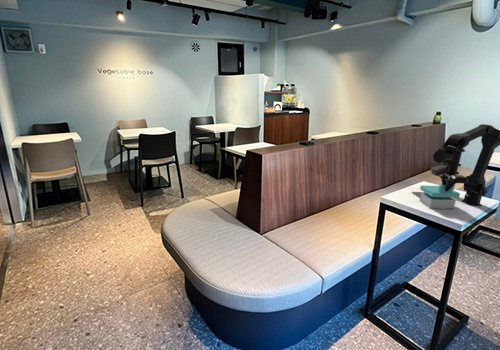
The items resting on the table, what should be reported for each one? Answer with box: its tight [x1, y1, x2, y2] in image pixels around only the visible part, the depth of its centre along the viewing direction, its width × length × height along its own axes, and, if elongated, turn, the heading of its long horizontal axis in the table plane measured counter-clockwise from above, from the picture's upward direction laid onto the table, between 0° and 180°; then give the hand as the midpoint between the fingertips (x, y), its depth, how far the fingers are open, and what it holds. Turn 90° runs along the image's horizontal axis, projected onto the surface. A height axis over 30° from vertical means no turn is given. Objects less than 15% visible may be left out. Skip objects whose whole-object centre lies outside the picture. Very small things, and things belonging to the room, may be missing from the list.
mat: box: [411, 191, 425, 199], centre depth 163 cm, size 14×11×1 cm
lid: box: [419, 184, 461, 199], centre depth 148 cm, size 13×11×6 cm
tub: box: [419, 191, 457, 210], centre depth 151 cm, size 12×10×5 cm
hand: (445, 190), depth 144 cm, fingers closed on lid
